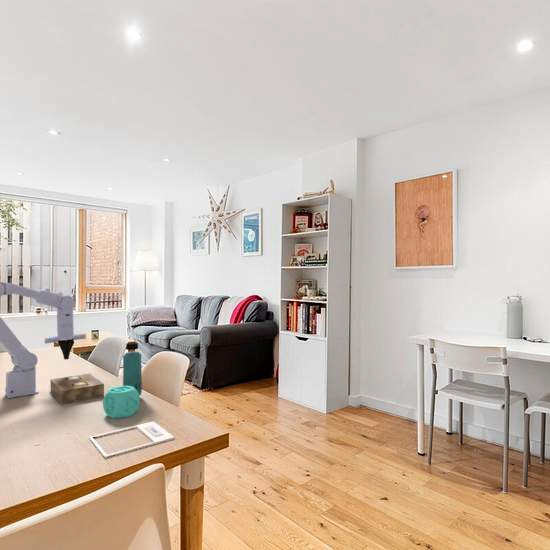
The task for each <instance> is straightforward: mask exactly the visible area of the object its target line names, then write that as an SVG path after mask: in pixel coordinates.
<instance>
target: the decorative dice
mask: <svg viewBox="0 0 550 550" xmlns="http://www.w3.org/2000/svg"><path fill="white" fill-rule="evenodd" d="M140 399H141V398H140V395H139V394H138V392H137V390H136V389H135V388H134V387H132V386H123V385H119V386H118V385H117V386H115V387H110V388H109V389H108V390H107V391H106V392H105V393H104V396H103V399H102V408H103V411H104V413H105V414H106V415H107V417H108V418H110V417H111V418H110V419H124V418H123V417H125V418H128V416H129V417H131V416H133V415H134V414H135V413H136V412H137V410H138V409H139V406H140V401H141V400H140Z"/></svg>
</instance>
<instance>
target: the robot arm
mask: <svg viewBox="0 0 550 550" xmlns="http://www.w3.org/2000/svg"><path fill="white" fill-rule="evenodd" d="M8 295H17V296H20V297H21V296H22V297H24V298H25V297H26V298H30V299H34V300H35V302H36V303H37V304H38V305H39V304H40V305H43V306H47V307H52V308H56V323H57V325H56V327H57V329H56V330H57V336H52V337H51V336H49V337H45V338H44V344H45V345H47V344H52V343H57V345H58V346H59V348H60V349H61V350H60V351H61V353H62V356H63V360H69V359H70V355H71V352H72V351H71V350H72V349H73V347H74V344H75V341H78V340H86V339H87V334H86V333H76V334H74V333H75V332H74V308H75V306H76V301H75V299H74V298H73V296H71V295H64V294H63V292H55V291H52V290H51V289H50V288H45V289H44V288H41V289H39V290H35V289H31V288H29V287H25V286H23V285H18V284H15V283H12V282H5V281H0V299H1V298H2V296H8ZM0 343H1V344H2V346H3V347H4V348H5V349H6V351H7V353H8V355H9V356H10V360H11V363H12V364H13V365H14V366H13V368H12V370H10V371H9V370H8V371H6V372H5V389H4V391H5V392H4V393H5V394H6V396H7V398H8V399H11V398H17V397H22V396H29V395H34V394H39V391H38V389H37V386H36V385H37V384H36V383H37V382H36V381H37V379H36V377H37V375H36V374H37V364H38V356H37V355H36V354H34V353H33V352H30V351H29V350H28V348H27V347H26V346H24V345H23V344H22V342H21V341H20V340H19V339H18V337H17V336H16V334H15V333H14V332H13V331H12V330H11V328H10V327H9V326H8V324H7V323H6V322H5V321H4V320H3V318H2V317H1V316H0Z"/></svg>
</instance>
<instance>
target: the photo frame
mask: <svg viewBox="0 0 550 550" xmlns="http://www.w3.org/2000/svg"><path fill="white" fill-rule="evenodd" d="M132 428H135V429H137V428H138V429H139V430H140V431H139V430H138V429H137V430H138V431H139V432H140V433H141V434H143V433H144V434H145V435H146V436H147V437H146V436H145V435H144V434H143V435H144V436H145V437H146V438H148V439H149V440H150V442H148V443H144V444H141V445H138V446H137V445H136V446H134V447H130V448H127V449H123V450H119V451H117V452H112V453H109V454H107V453H106V452H105V451H104V449H103V448H102V447H101V446H100V444H98V442H97V441H96V440H95V439H94V438H93V437H95V438H96V437H99V438H101V437H100V436H103V437H105V436H104V435H107V436H110V435H109V434H111V435H114V434H113V433H115V434H118V433H117V432H119V433H121V432H120V431H123V432H125V431H124V430H127V429H131V430H133V429H132ZM127 431H128V430H127ZM175 439H176V438H175V436H174V435H173V434H172V433H170V432H168V430H166V429H165V428H163V427H162V426H161V425H159V424H158V423H156V421H149V422H146V423H141V424H137V425H134V426H133V425H132V426H128V427H125V428H119V429H117V430H112V431H107V432H105V433H104V432H103V433H99V434H96V435H93V436H88V440H89V441H90V440H91V441H92V442H93V443H92V442H91V441H90V442H91V443H92V444H93V446H94V445H95V446H96V447H97V448H96V447H95V446H94V447H95V448H96V450H97V451H98V450H99V451H100V452H101V453H100V452H99V451H98V452H99V453H100V454H101V456H102V455H103V456H104V457H105V458H106V457H109V456H113V455H116V456H118V455H117V454H120V455H122V454H121V453H123V454H125V453H124V452H127V453H129V452H128V451H130V452H132V451H131V450H134V451H136V450H135V449H137V450H140V449H139V448H141V449H143V448H142V447H144V448H147V447H146V446H148V447H151V446H154V444H155V445H158V443H159V444H162V443H165V441H166V442H168V441H172V440H175ZM161 442H162V443H161ZM150 445H151V446H150ZM104 457H103V458H104ZM113 457H114V456H113ZM105 458H104V459H105ZM109 458H110V457H109ZM106 459H107V458H106Z"/></svg>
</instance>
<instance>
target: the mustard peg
mask: <svg viewBox="0 0 550 550" xmlns="http://www.w3.org/2000/svg"><path fill="white" fill-rule="evenodd" d="M85 385H86V383H84V382H82V383H76V384H74V387H79V386H85Z"/></svg>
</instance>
